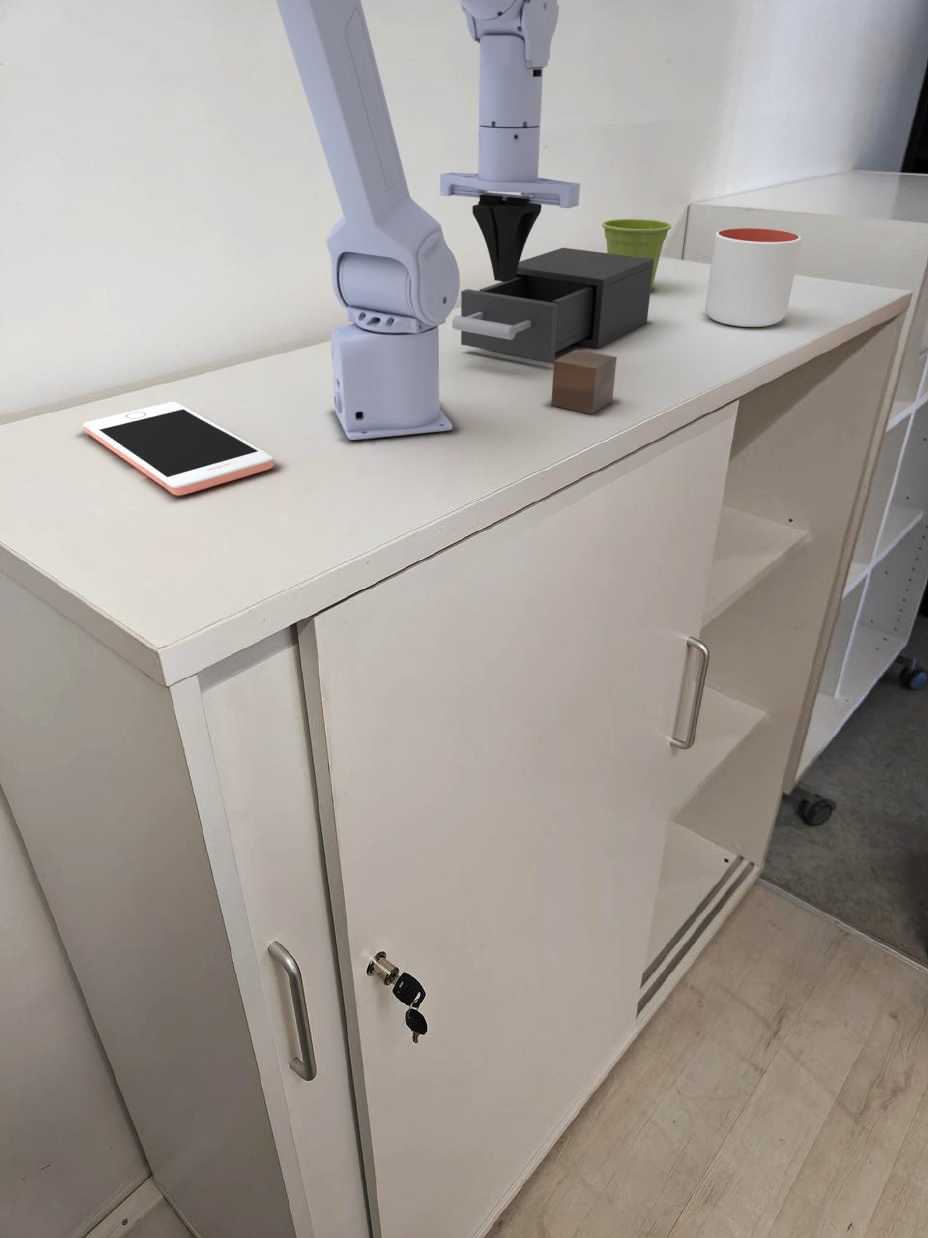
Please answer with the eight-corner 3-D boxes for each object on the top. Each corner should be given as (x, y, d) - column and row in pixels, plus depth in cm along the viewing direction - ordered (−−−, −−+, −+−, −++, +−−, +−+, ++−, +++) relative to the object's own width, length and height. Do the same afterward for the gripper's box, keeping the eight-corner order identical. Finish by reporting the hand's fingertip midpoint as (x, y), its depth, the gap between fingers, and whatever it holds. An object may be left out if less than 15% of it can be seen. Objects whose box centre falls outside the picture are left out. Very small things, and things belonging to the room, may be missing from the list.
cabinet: (597, 348, 102) (603, 279, 97) (504, 331, 107) (506, 265, 103) (647, 323, 111) (654, 258, 107) (558, 308, 117) (562, 247, 113)
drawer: (525, 373, 91) (528, 315, 88) (435, 355, 96) (434, 299, 93) (602, 335, 103) (607, 283, 100) (518, 320, 108) (520, 270, 105)
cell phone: (176, 410, 84) (174, 400, 83) (277, 467, 72) (275, 457, 72) (83, 432, 79) (81, 422, 78) (176, 498, 67) (174, 486, 67)
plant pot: (586, 284, 129) (591, 219, 124) (644, 280, 131) (651, 216, 127) (614, 298, 121) (620, 230, 117) (675, 294, 124) (684, 227, 119)
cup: (788, 331, 108) (806, 244, 102) (704, 327, 109) (717, 240, 104) (780, 311, 116) (796, 229, 111) (702, 307, 118) (714, 226, 112)
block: (591, 414, 83) (595, 368, 81) (550, 405, 85) (553, 360, 83) (612, 401, 86) (616, 356, 84) (572, 393, 88) (575, 348, 86)
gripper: (599, 126, 82) (587, 281, 89) (468, 119, 88) (467, 263, 96) (562, 131, 77) (553, 294, 84) (426, 123, 83) (429, 275, 91)
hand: (504, 279), depth 89 cm, fingers closed
